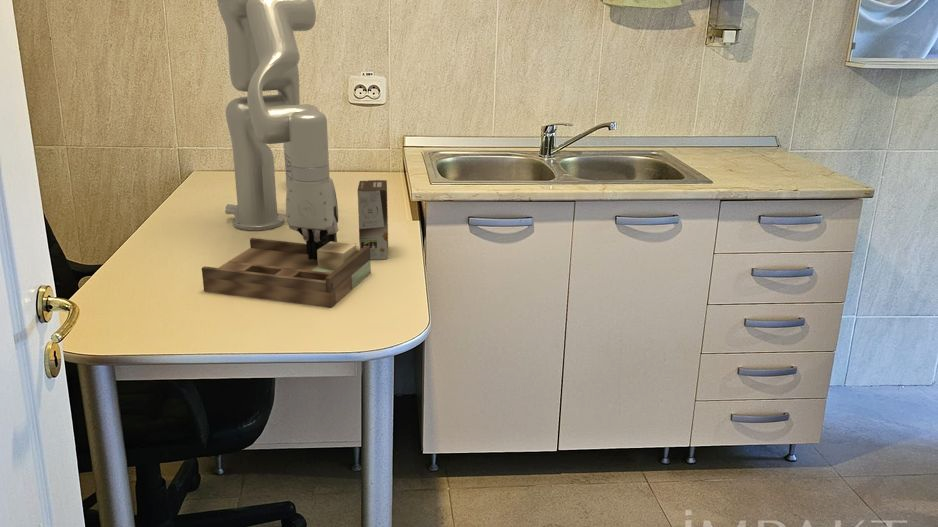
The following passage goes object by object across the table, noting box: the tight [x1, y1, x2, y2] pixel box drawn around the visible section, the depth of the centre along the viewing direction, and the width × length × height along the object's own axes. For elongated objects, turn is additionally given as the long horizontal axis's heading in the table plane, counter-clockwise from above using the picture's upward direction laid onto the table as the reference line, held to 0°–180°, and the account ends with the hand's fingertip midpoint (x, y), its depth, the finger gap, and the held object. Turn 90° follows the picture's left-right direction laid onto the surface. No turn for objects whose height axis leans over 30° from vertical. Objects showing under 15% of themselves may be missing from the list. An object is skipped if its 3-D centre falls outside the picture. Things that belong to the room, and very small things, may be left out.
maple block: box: [317, 241, 357, 271], centre depth 181 cm, size 6×6×4 cm
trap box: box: [201, 237, 372, 308], centre depth 179 cm, size 28×20×6 cm
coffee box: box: [357, 179, 389, 260], centre depth 195 cm, size 9×6×16 cm
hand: (315, 257), depth 183 cm, fingers closed
